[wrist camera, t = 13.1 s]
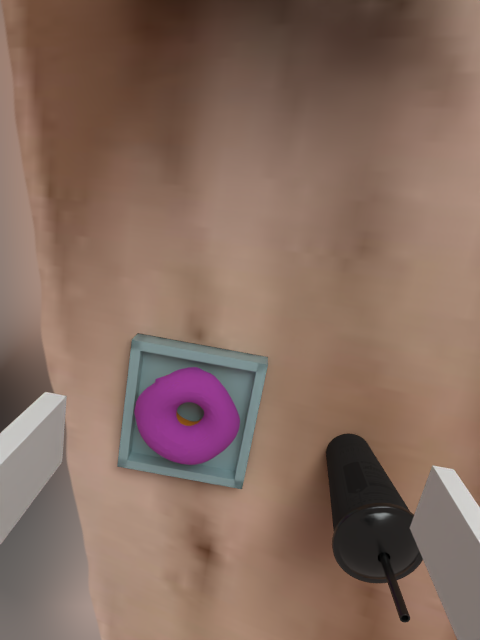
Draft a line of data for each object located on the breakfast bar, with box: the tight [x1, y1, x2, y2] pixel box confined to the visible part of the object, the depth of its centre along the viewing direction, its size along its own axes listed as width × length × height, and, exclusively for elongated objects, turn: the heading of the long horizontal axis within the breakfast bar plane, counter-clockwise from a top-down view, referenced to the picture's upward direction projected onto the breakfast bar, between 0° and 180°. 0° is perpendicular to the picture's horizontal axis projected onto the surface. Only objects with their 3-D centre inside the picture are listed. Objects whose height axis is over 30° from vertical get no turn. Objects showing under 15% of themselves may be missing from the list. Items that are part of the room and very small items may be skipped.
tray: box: [117, 333, 268, 489], centre depth 47 cm, size 15×14×2 cm
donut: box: [134, 367, 240, 465], centre depth 45 cm, size 10×10×5 cm
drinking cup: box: [326, 434, 423, 622], centre depth 39 cm, size 8×8×20 cm
